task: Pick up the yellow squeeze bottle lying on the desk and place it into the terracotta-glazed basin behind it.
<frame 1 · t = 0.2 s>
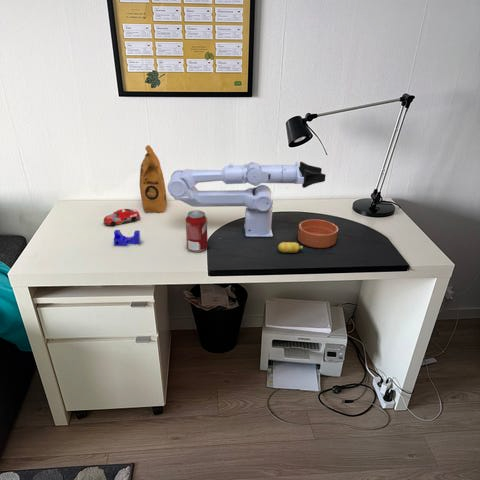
hand: (323, 174, 144), 21 cm above the table, tool horizontal, fingers open, 7 cm apart
coffee package: (154, 207, 171), on the table
yellow squeeze bottle: (288, 252, 144), on the table
cable holder: (128, 244, 145), on the table
soda can: (197, 249, 144), on the table
basin: (316, 240, 152), on the table
race car: (122, 222, 159), on the table
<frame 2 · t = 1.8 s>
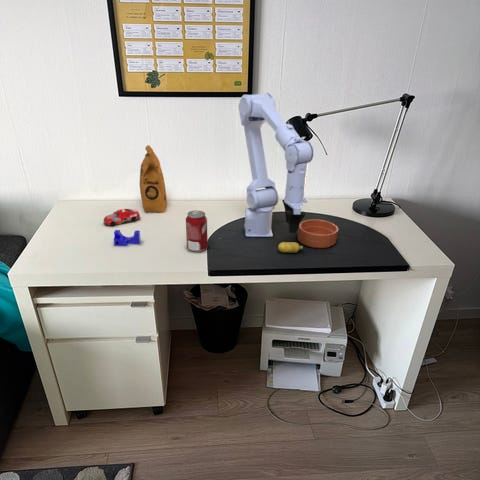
hand: (291, 227, 139), 9 cm above the table, tool pointing down, fingers open, 7 cm apart
nothing on the table moved.
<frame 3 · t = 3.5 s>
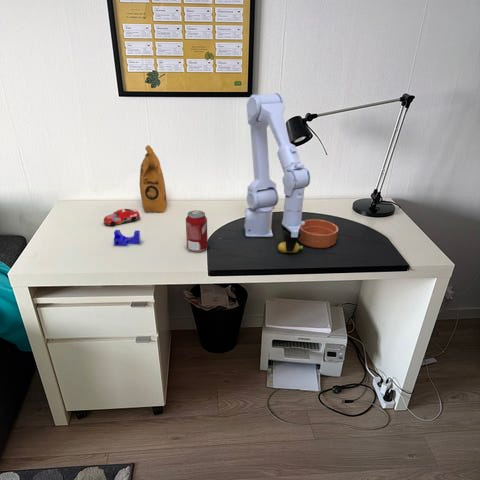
hand: (288, 248, 143), 1 cm above the table, tool pointing down, fingers closed on yellow squeeze bottle, 3 cm apart
yellow squeeze bottle: (288, 252, 144), on the table, touching gripper
everything else where it was.
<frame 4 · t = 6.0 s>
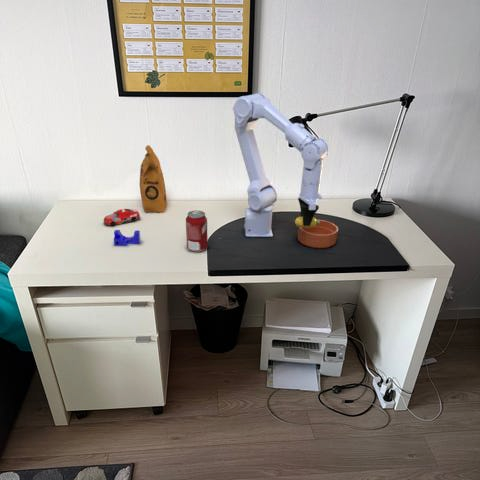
hand: (305, 222, 143), 8 cm above the table, tool pointing down, fingers closed on yellow squeeze bottle, 3 cm apart
yellow squeeze bottle: (305, 226, 144), point 7 cm above the table, touching gripper
everything else where it was.
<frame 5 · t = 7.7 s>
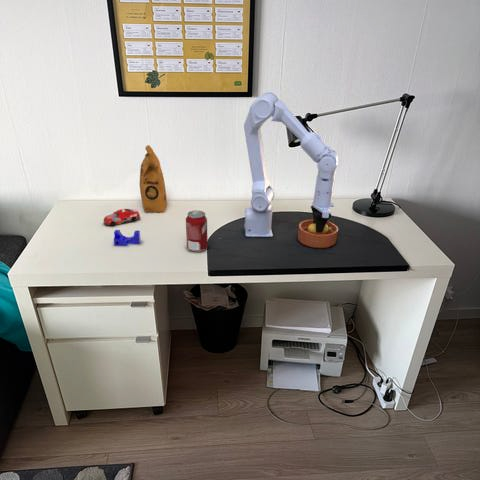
hand: (318, 229, 149), 4 cm above the table, tool pointing down, fingers closed on yellow squeeze bottle, 3 cm apart
yellow squeeze bottle: (317, 233, 150), point 3 cm above the table, touching gripper
everything else where it was.
when the fingers open (2 cm above the table, at t = 8.7 s): yellow squeeze bottle stays where it is, resting on basin.
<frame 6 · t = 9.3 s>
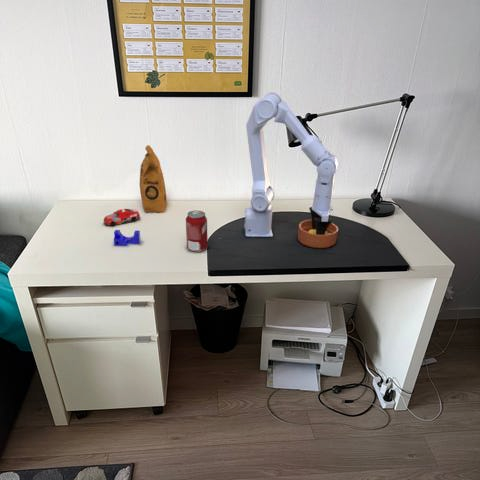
hand: (317, 233, 150), 3 cm above the table, tool pointing down, fingers open, 7 cm apart
yellow squeeze bottle: (316, 238, 151), point 1 cm above the table, touching basin
everything else where it was.
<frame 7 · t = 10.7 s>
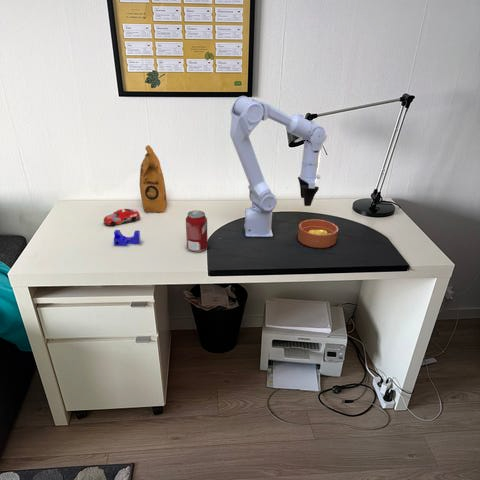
hand: (305, 201, 156), 9 cm above the table, tool pointing down, fingers open, 7 cm apart
yellow squeeze bottle: (316, 238, 151), point 1 cm above the table, tilted 13°, touching basin
everything else where it was.
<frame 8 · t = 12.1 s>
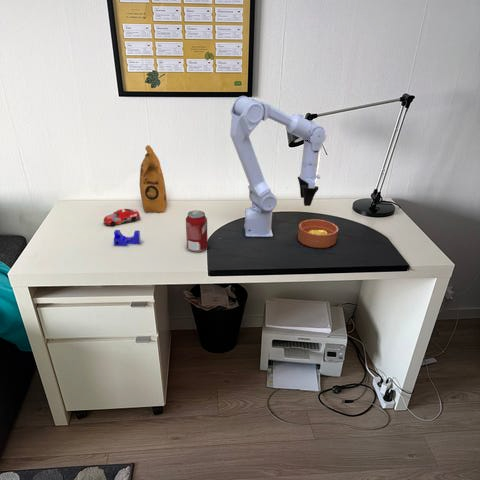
hand: (305, 201, 156), 9 cm above the table, tool pointing down, fingers open, 7 cm apart
yellow squeeze bottle: (316, 238, 151), point 1 cm above the table, tilted 21°, touching basin
everything else where it was.
at the end: yellow squeeze bottle inside the target area in the basin (0.0 cm from its centre), point 0.7 cm above the basin's base; the gripper is holding nothing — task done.
